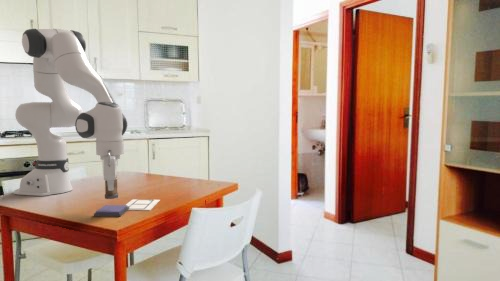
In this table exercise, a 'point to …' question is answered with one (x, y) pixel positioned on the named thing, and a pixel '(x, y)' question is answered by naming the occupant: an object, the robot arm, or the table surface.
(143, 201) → the sheet
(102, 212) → the inkpad
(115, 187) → the stamp
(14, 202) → the table surface
